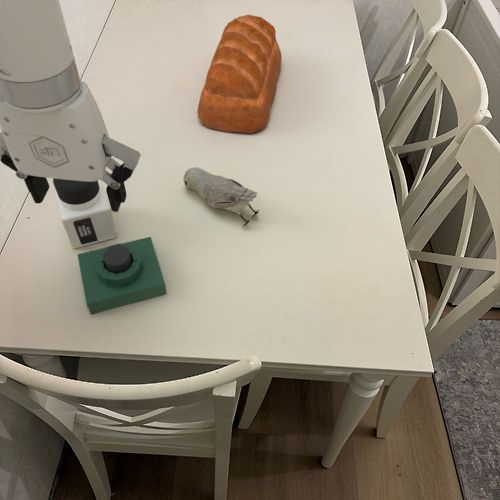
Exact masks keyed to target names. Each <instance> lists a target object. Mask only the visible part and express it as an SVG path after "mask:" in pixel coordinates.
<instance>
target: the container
mask: <svg viewBox="0 0 500 500" xmlns="http://www.w3.org/2000/svg"><path fill="white" fill-rule="evenodd" d="M52 183H53V186H54V195H55V200H56V203H57V204H56V205H57V208H58V213H59V214H58V215H59V218H60V222H61V225H62V227H63V230H64V231H65V234H66V237H67V239H68V241H69V244H70V247H71V248H72V249H78V248H82V247H85V246H90V245H93V244H98V243H102V242H105V241H109V240H112V239H116V238H118V233H117V230H116V227H115V222H114V220H113V216H112V212H111V211H112V210H111V207H110V203H109V200H108V197H107V195H106V194H107V193H106V190H105V188H104V184H103V181H102V180H98V181H93V182H86V181H75V180H64V179H55V178H52Z"/></svg>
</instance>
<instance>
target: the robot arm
mask: <svg viewBox="0 0 500 500" xmlns="http://www.w3.org/2000/svg"><path fill="white" fill-rule="evenodd" d="M97 103H98V102H97V101H96V99H95V97H94V95H93V93H92V91H91V88H90V87H89V86H88V84H87V83H86V82H84V81H82V80H81V78H80V73H79V70H78V66H77V62H76V59H75V55H74V51H73V48H72V43H71V40H70V36H69V33H68V29H67V25H66V22H65V19H64V14H63V11H62V8H61V4H60V0H0V130H1V132H0V162H1V164H3V165H4V166H6V167H8V168H9V169H10V170H12V171H14V172H15V176H16V177H17V178H18V179H20V180H23V181H24V184H25V185H26V188H27V191H28V192H29V193H30V195H31V197H32V200H33V202H34V204H41V203H43V202H44V199H45V198H46V196H47V193H48V192H49V189H50V184H49V181H48V179H53V178H55V179H64V180H75V181H86V182H93V181H98V180H101V181H102V183H105V185H107V186H106V188H105V193H106V194H107V195H106V197H107V200H108V204H109V208H110V211H112V212H113V213H118V212H119V210H120V208H121V205H122V204H125V202H126V200H127V190H126V185H125V182H126V181H128V180H129V179H130V178H131V177H132V175H133V173H134V171H135V169H136V168H137V165H138V164H139V160H140V158H141V156H142V155H141V152H140V151H139V150H136V149H134V148H132V147H129V146H128V145H126V144H123V143H121V142H119V141H117V140H115V139H113V138H111V137H110V136H109V133H108V129H107V126H106V123H105V121H104V118H103V115H102V112H101V110H100V108H99V105H98V104H97ZM114 158H115V159H118V160H120V161H121V162H123V163H121V164H120V163H119V162H118V161H117V160H115V159H114ZM107 168H108V169H109V170H110V171H111V173H110V172H109V171H108V170H106V169H107Z"/></svg>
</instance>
